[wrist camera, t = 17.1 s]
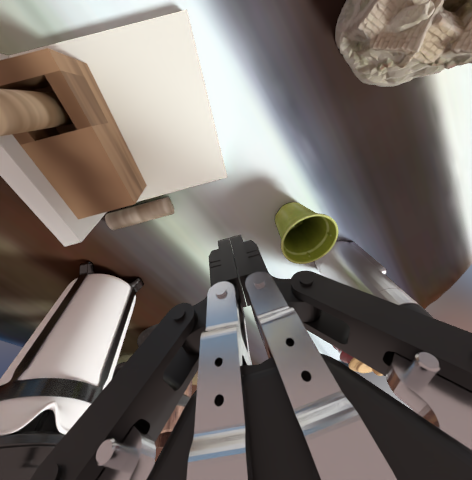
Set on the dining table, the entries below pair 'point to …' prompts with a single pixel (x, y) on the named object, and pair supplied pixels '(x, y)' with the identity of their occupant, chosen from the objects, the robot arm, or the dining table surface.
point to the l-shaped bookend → (133, 116)
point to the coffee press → (62, 368)
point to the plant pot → (304, 233)
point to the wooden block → (139, 213)
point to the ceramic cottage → (404, 38)
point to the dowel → (30, 111)
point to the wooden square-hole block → (75, 135)
